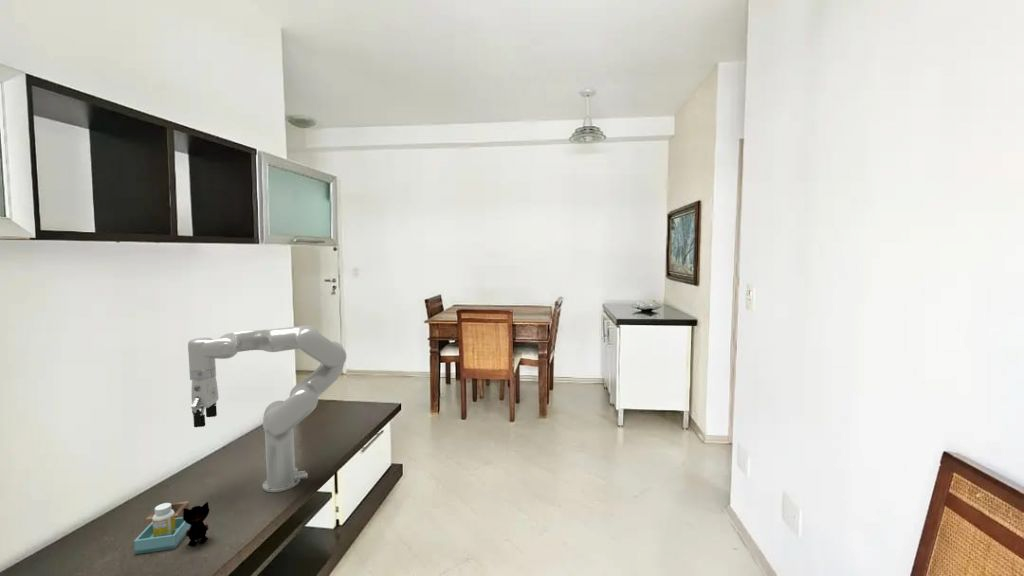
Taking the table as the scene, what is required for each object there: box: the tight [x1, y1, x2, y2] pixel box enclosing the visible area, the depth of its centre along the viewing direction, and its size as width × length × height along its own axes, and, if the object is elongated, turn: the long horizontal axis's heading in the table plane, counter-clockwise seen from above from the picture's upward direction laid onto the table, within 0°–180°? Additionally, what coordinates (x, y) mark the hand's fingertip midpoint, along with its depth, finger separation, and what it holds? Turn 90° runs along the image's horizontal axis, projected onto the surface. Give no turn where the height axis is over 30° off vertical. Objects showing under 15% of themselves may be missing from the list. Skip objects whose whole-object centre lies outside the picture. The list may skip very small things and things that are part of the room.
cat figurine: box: [183, 501, 210, 547], centre depth 135 cm, size 7×7×12 cm
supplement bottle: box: [152, 502, 176, 537], centre depth 136 cm, size 5×5×10 cm
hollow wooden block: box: [145, 500, 191, 529], centre depth 147 cm, size 9×9×4 cm
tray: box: [133, 517, 191, 555], centre depth 136 cm, size 10×10×4 cm
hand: (205, 421), depth 157 cm, fingers open, 9 cm apart
